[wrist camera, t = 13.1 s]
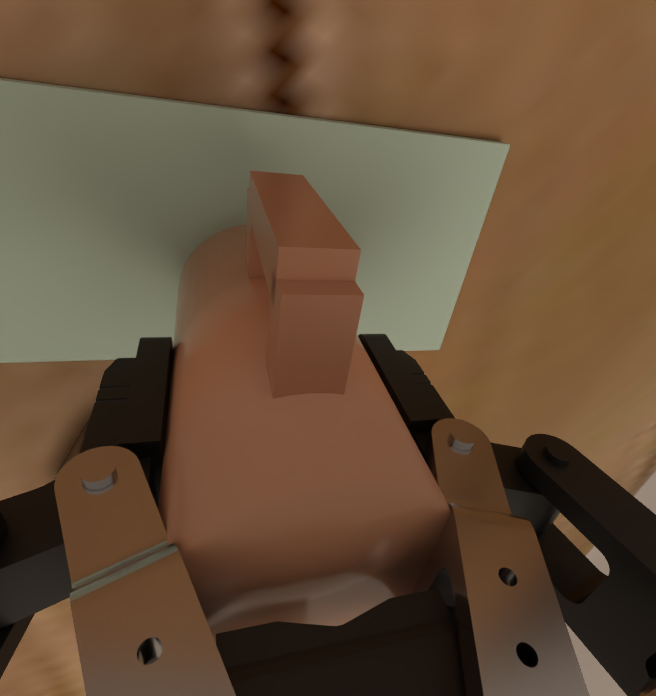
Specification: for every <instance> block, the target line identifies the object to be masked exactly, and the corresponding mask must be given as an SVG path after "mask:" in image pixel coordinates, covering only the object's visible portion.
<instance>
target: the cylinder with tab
mask: <svg viewBox="0 0 656 696" xmlns="http://www.w3.org/2000/svg"><path fill="white" fill-rule="evenodd" d="M360 253H361V249H360V248H359V247H358V245H357V244H356V243H355V241H354V240H353V239H352V237H351V236H350V235H349V234H348V232H347V231H346V230H345V228H344V227H343V226H342V225H341V223H340V222H339V221H338V219H337V218H336V217H335V216H334V214H333V213H332V212H331V210H330V209H329V208H328V207H327V205H326V204H325V203H324V201H323V200H322V199H321V198H320V196H319V195H318V194H317V192H316V191H315V190H314V189H313V187H312V186H311V185H310V183H309V182H308V181H307V180H306V178H305V177H304V176H303V175H296V174H284V173H273V172H261V171H250V177H249V189H248V188H247V221H246V225H239V226H234V227H230V228H227V229H224V230H222V231H219V232H217V233H215V234H213V235H212V236H210V237H208V238H207V239H206V240H204V241H203V242H202V243H201V244H199V245H198V247H197V248H196V249H195V250H194V251H193V252H192V253H191V255H190V256H189V258H188V259H187V261H186V263H185V265H184V267H183V269H182V272H181V276H180V281H179V288H178V299H177V309H176V320H175V331H174V342H173V356H172V367H171V378H170V389H169V400H168V411H167V422H166V432H165V443H164V454H163V464H162V470H161V480H160V491H159V502H158V511H159V514H160V516H161V519H162V522H163V524H164V527H165V530H166V532H167V542H168V544H171V543H175V544H176V546H177V548H178V550H179V552H180V554H181V557H182V559H183V562H184V564H185V567H186V569H187V572H188V574H189V577H190V580H191V582H192V585H193V587H194V590H195V592H196V595H197V597H198V600H199V602H200V605H201V608H202V610H203V613H204V615H205V618H206V620H207V623H208V625H209V628H210V630H211V633H212V636H213V638H214V641H215V643H216V634H217V633H222V632H227V631H232V630H237V629H242V628H247V627H252V626H256V625H261V624H266V623H271V622H276V621H279V622H291V623H303V624H315V625H327V626H339V625H343V624H345V623H347V622H348V621H350V620H352V619H354V618H356V617H357V616H359V615H361V614H363V613H364V612H366V611H368V610H370V609H371V608H373V607H375V606H377V605H379V604H380V603H382V602H384V601H386V600H387V599H389V598H393V597H398V596H403V595H408V594H411V592H412V590H413V588H414V586H415V584H416V582H417V580H418V578H419V576H420V574H421V572H422V570H423V568H424V566H425V564H426V562H427V560H428V558H429V556H430V554H431V552H432V550H433V548H434V546H435V544H436V542H437V540H438V538H439V536H440V534H441V532H442V530H443V528H444V526H445V524H446V522H447V520H448V518H449V516H450V514H451V509H450V507H449V505H448V503H447V501H446V499H445V497H444V495H443V494H442V492H441V490H440V488H439V486H438V484H437V482H436V481H435V479H434V477H433V475H432V473H431V471H430V469H429V467H428V466H427V464H426V462H425V460H424V458H423V456H422V454H421V453H420V451H419V449H418V447H417V445H416V443H415V441H414V440H413V438H412V436H411V434H410V432H409V430H408V428H407V426H406V425H405V423H404V421H403V419H402V417H401V415H400V413H399V412H398V410H397V408H396V406H395V404H394V402H393V400H392V399H391V397H390V395H389V393H388V391H387V389H386V387H385V385H384V384H383V382H382V380H381V378H380V376H379V374H378V372H377V371H376V369H375V367H374V365H373V363H372V361H371V359H370V358H369V356H368V354H367V352H366V350H365V348H364V346H363V344H362V343H361V341H360V339H359V337H358V335H357V329H358V324H359V319H360V314H361V309H362V304H363V299H364V294H363V292H362V291H361V289H360V288H359V286H358V285H357V283H356V282H355V280H356V274H357V269H358V264H359V258H360Z"/></svg>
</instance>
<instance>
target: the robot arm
mask: <svg viewBox="0 0 656 696" xmlns="http://www.w3.org/2000/svg"><path fill="white" fill-rule="evenodd" d="M358 337H359V339H360V341H361V343H362V344H363V346H364V348H365V350H366V352H367V354H368V356H369V358H370V359H371V361H372V363H373V365H374V367H375V369H376V371H377V372H378V374H379V376H380V378H381V380H382V382H383V384H384V385H385V387H386V389H387V391H388V393H389V395H390V397H391V399H392V400H393V402H394V404H395V406H396V408H397V410H398V412H399V413H400V415H401V417H402V419H403V421H404V423H405V425H406V426H407V428H408V430H409V432H410V434H411V436H412V438H413V440H414V441H415V443H416V445H417V447H418V449H419V451H420V453H421V454H422V456H423V458H424V460H425V462H426V464H427V466H428V467H429V469H430V471H431V473H432V475H433V477H434V479H435V481H436V482H437V484H438V486H439V488H440V490H441V492H442V494H443V495H444V497H445V499H446V501H447V503H448V505H449V507H450V509H451V514H450V516H449V518H448V520H447V522H446V524H445V526H444V528H443V530H442V532H441V534H440V536H439V538H438V540H437V542H436V544H435V546H434V548H433V550H432V552H431V554H430V556H429V558H428V560H427V562H426V564H425V566H424V568H423V570H422V572H421V574H420V576H419V578H418V580H417V582H416V584H415V586H414V588H413V590H412V592H411V594H408V595H403V596H398V597H393V598H389V599H387V600H386V601H384V602H382V603H380V604H379V605H377V606H375V607H373V608H371V609H370V610H368V611H366V612H364V613H363V614H361V615H359V616H357V617H356V618H354V619H352V620H350V621H348V622H347V623H345V624H343V625H339V626H327V625H315V624H303V623H291V622H279V621H276V622H271V623H266V624H261V625H256V626H252V627H247V628H242V629H237V630H232V631H227V632H222V633H217V634H216V643H215V641H214V638H213V636H212V633H211V630H210V628H209V625H208V623H207V620H206V618H205V615H204V613H203V610H202V608H201V605H200V602H199V600H198V597H197V595H196V592H195V590H194V587H193V585H192V582H191V580H190V577H189V574H188V572H187V569H186V567H185V564H184V562H183V559H182V557H181V554H180V552H179V550H178V548H177V546H176V544H175V543H171V544H168V542H167V532H166V530H165V527H164V524H163V522H162V519H161V516H160V514H159V511H158V502H159V491H160V480H161V470H162V464H163V454H164V443H165V432H166V422H167V411H168V400H169V389H170V378H171V367H172V356H173V341H172V337H141V338H140V340H139V345H138V350H137V355H136V358H117V359H116V360H115V361H114V362H113V363H112V364H111V365H110V366H109V367H108V368H107V369H106V370H105V371H104V374H103V377H102V381H101V384H100V390H99V391H98V394H97V398H96V403H95V404H94V408H93V411H92V414H91V418H90V421H89V425H88V428H87V431H86V435H85V438H84V441H83V445H82V448H81V451H80V454H79V455H77V456H75V457H74V458H72V459H71V460H70V461H68V462H67V463H66V464H65V465H64V466H63V467H62V468H61V470H60V471H59V473H58V474H57V477H56V479H55V480H54V481H52V482H50V483H48V484H46V485H44V486H42V487H40V488H37V489H34V490H32V491H29V492H26V493H23V494H20V495H17V496H14V497H11V498H8V499H5V500H2V501H0V678H1V676H2V675H3V673H4V671H5V669H6V667H7V665H8V663H9V661H10V659H11V658H12V656H13V654H14V652H15V650H16V648H17V646H18V644H19V642H20V640H21V639H22V637H23V635H24V633H25V631H26V629H27V627H28V625H29V623H30V621H31V620H32V618H33V616H34V614H35V613H36V612H39V611H41V610H43V609H45V608H47V607H49V606H51V605H54V604H56V603H58V602H60V601H62V600H64V599H67V598H69V597H70V604H71V611H72V617H73V622H74V628H75V634H76V639H77V645H78V651H79V656H80V662H81V668H82V674H83V679H84V685H85V691H86V696H589V693H588V691H587V688H586V684H585V681H584V678H583V675H582V672H581V669H580V666H579V663H578V660H577V657H576V654H575V651H574V648H573V645H572V642H571V639H570V636H569V633H568V630H567V627H566V624H567V625H568V626H569V627H570V628H571V630H572V631H573V632H574V633H575V634H576V635H577V637H578V638H579V639H580V640H581V641H582V642H583V644H584V645H585V646H586V647H587V648H588V650H589V651H590V652H591V653H592V654H593V656H594V657H595V658H596V659H597V660H598V661H599V663H600V664H601V665H602V666H603V667H604V669H605V670H606V671H607V672H608V673H609V674H610V675H611V677H612V678H613V679H614V680H615V682H616V683H617V684H618V685H619V686H620V687H621V689H622V690H623V691H624V692H625V693H626V695H627V696H656V515H655V514H654V513H653V512H651V511H650V510H649V509H648V508H647V507H646V506H644V505H643V504H642V503H641V502H639V501H638V500H637V499H636V498H635V497H633V496H632V495H631V494H630V493H629V492H627V491H626V490H625V489H624V488H622V487H621V486H620V485H619V484H618V483H616V482H615V481H614V480H613V479H612V478H610V477H609V476H608V475H607V474H606V473H604V472H603V471H602V470H601V469H599V468H598V467H597V466H596V465H595V464H593V463H592V462H591V461H590V460H589V459H587V458H586V457H585V456H584V455H582V454H581V453H580V452H579V451H578V450H576V449H575V448H574V447H573V446H571V445H570V444H568V443H567V442H565V441H563V440H561V439H559V438H557V437H554V436H551V435H546V434H534V435H531V436H529V437H528V438H527V439H526V441H525V443H524V445H523V447H522V448H518V447H512V446H507V445H501V444H495V443H491V442H490V441H489V439H488V437H487V436H486V435H485V434H484V433H483V432H482V431H481V430H480V429H479V428H477V427H476V426H474V425H473V424H471V423H468V422H466V421H463V420H460V419H455V418H454V416H453V415H452V413H451V412H450V410H449V409H448V407H447V406H446V404H445V403H444V401H443V400H442V398H441V397H440V395H439V394H438V392H437V391H436V390H435V388H434V387H433V385H431V384H430V383H431V382H430V381H429V379H428V378H427V376H426V375H424V372H423V370H422V369H421V367H420V366H419V364H418V363H417V361H416V360H415V359H413V358H412V357H411V356H409V355H408V354H407V353H405V352H404V351H403V350H396V349H395V348H394V346H393V344H392V343H391V341H390V340H389V338H388V337H387V335H386V334H359V335H358ZM560 512H561V513H562V514H563V515H564V516H565V517H566V518H567V519H568V520H569V521H570V522H571V523H572V524H573V525H574V526H575V527H576V528H577V529H578V530H579V531H580V532H581V533H582V534H583V535H584V536H585V537H586V538H587V539H588V540H589V541H590V542H591V543H592V544H593V545H594V546H595V547H596V548H598V550H599V551H600V552H601V553H602V554H603V555H604V556H605V558H606V560H607V562H608V564H609V568H610V573H609V576H607V575H605V574H603V573H602V572H600V571H599V570H598V569H597V568H596V567H595V566H594V565H593V564H592V563H591V562H590V561H589V560H588V559H587V558H586V557H585V556H584V555H583V554H582V553H581V552H580V550H579V549H578V548H577V547H576V546H575V545H574V544H573V543H572V542H571V541H570V540H569V539H568V538H567V537H566V536H565V535H564V534H563V533H562V532H561V531H560V530H559V529H558V528H557V527H556V526H555V525H554V524H553V522H554V520H555V519H556V517H557V516H558V515H559V513H560ZM565 622H566V624H565Z"/></svg>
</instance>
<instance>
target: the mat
mask: <svg viewBox="0 0 656 696" xmlns="http://www.w3.org/2000/svg"><path fill="white" fill-rule="evenodd" d="M509 147H510V144H507V143H503V142H500V141H492V140H484V139H476V138H468V137H460V136H453V135H445V134H437V133H429V132H421V131H414V130H406V129H398V128H390V127H382V126H374V125H367V124H359V123H351V122H343V121H335V120H328V119H320V118H312V117H304V116H296V115H288V114H281V113H273V112H265V111H257V110H249V109H242V108H234V107H226V106H218V105H210V104H202V103H195V102H187V101H179V100H171V99H163V98H155V97H148V96H140V95H132V94H124V93H116V92H109V91H101V90H93V89H85V88H77V87H69V86H62V85H54V84H46V83H38V82H30V81H23V80H15V79H7V78H0V363H17V362H50V361H84V360H116V359H117V358H136V355H137V350H138V345H139V340H140V338H141V337H172V341H173V342H174V331H175V320H176V309H177V299H178V288H179V281H180V276H181V272H182V269H183V267H184V265H185V263H186V261H187V259H188V258H189V256H190V255H191V253H192V252H193V251H194V250H195V249H196V248H197V247H198V245H199V244H201V243H202V242H203V241H204V240H206V239H207V238H208V237H210V236H212V235H213V234H215V233H217V232H219V231H222V230H224V229H227V228H230V227H234V226H239V225H246V221H247V188H248V189H249V177H250V171H261V172H273V173H284V174H296V175H303V176H304V177H305V178H306V180H307V181H308V182H309V183H310V185H311V186H312V187H313V189H314V190H315V191H316V192H317V194H318V195H319V196H320V198H321V199H322V200H323V201H324V203H325V204H326V205H327V207H328V208H329V209H330V210H331V212H332V213H333V214H334V216H335V217H336V218H337V219H338V221H339V222H340V223H341V225H342V226H343V227H344V228H345V230H346V231H347V232H348V234H349V235H350V236H351V237H352V239H353V240H354V241H355V243H356V244H357V245H358V247H359V248H360V249H361V253H360V258H359V264H358V269H357V274H356V280H355V282H356V283H357V285H358V286H359V288H360V289H361V291H362V292H363V294H364V299H363V304H362V309H361V314H360V319H359V324H358V329H357V335H359V334H386V335H387V337H388V338H389V340H390V341H391V343H392V344H393V346H394V348H395V349H396V350H403V351H418V350H440V347H441V344H442V341H443V338H444V335H445V332H446V330H447V327H448V324H449V321H450V318H451V315H452V312H453V309H454V306H455V303H456V301H457V298H458V295H459V292H460V289H461V286H462V283H463V280H464V277H465V275H466V272H467V269H468V266H469V263H470V260H471V257H472V254H473V251H474V249H475V246H476V243H477V240H478V237H479V234H480V231H481V228H482V225H483V222H484V220H485V217H486V214H487V211H488V208H489V205H490V202H491V199H492V196H493V194H494V191H495V188H496V185H497V182H498V179H499V176H500V173H501V170H502V167H503V165H504V162H505V159H506V156H507V153H508V150H509Z"/></svg>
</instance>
